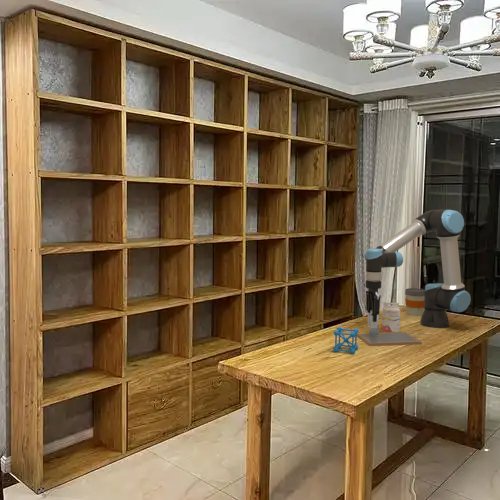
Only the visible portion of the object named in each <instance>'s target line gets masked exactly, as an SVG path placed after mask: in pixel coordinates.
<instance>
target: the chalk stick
mask: <svg viewBox="0 0 500 500" xmlns="http://www.w3.org/2000/svg"><path fill="white" fill-rule="evenodd" d="M371 314H372V310H370V326H369V333H370V334H371V335H378V333H379V315H377V328H371Z"/></svg>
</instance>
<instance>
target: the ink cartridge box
mask: <svg viewBox="0 0 500 500" xmlns="http://www.w3.org/2000/svg"><path fill="white" fill-rule="evenodd" d="M399 305H400V303H399V302H383V307H382V320H381V321H382V322H381V323H382V324H381V329H382V331H383V332H390V333H400V327H401V326H400V325H401V309H400V308H399Z"/></svg>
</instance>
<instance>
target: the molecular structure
mask: <svg viewBox="0 0 500 500" xmlns="http://www.w3.org/2000/svg"><path fill="white" fill-rule="evenodd" d="M343 331H345V332H343ZM347 332H348V333H347ZM349 332H350V333H349ZM359 332H360V331H359V328H357V327H356V328H353V329H348V328H343V327H342V326H338V327H337V330H334V331H333V335H334V339H335V340H334V347H333V349H332V351H333V352H335V353H337V352H346V353H347V352H348V353H350V354H352V355H354V354H355V353H356V350H358V349H359V345H358V342H357V341H358V340H357V339H358V338H357V334H359ZM346 336H348V337H346ZM351 338H352V339H351ZM341 339H342V340H343V341H341ZM350 339H351V341H350ZM346 344H347V345H346ZM342 347H344V348H349V349H350V350H349V349H341V348H342Z"/></svg>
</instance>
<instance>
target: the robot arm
mask: <svg viewBox="0 0 500 500" xmlns="http://www.w3.org/2000/svg"><path fill="white" fill-rule="evenodd" d="M464 227H465V219H464V217H463V215H462V213H461V212H459V211H457V210H452V209H432V210H428V211H425V212H424V213H422V214H420V215H419V216H417V217H416V218H415V219H413V220H412V222H411V223H410V224H409V225H407V226H406V227H405V228H403V229H402V230H400V231H398V232H396V233H395V234H394V235H393V236H391V237H390V238H388V239H386V241H384V242H383V243H381V244H380V245H378V246H377V247H375V248H368V249H366V251H364V255H363V256H364V257H363V258H364V261H365V274H364V275H365V288H366V289H368V290H366V291H365V311H366V312H367V326H368V327H370V310H372V314H371V328H377V315H378V316H379V315H380V311H381V308H380V307H381V305H380V304H381V298H382V296H381V294H379V290H380V289H381V288H382V281H381V280H382V278H383V277H382V274H383V273H382V270H383V268H398V267H402V265H403V263H404V256H403V254H402V253H401V252H399V251H400V249H402V248H403V247H405V246H406V245H408V244H409V243H411V242H412V241H414V240H415V239H416V238H418V237H420V236H424V235H426V234H427V233H431V232H435V235H436V238H437V239H438V240H439V245H440V254H441V256H440V257H441V264H442V277H443V283H442V282H441V283H427V284H426V285H425V286H424V290H425V297H424V311H423V314H422V316H420V317H421V318H420V325H422V326H426V327H429V328H448V327H449V326H450V319H449V317H448V314H447V311H451V312H456V313H461V312H465V311H466V310H467V309H468V308H469V306H470V304H471V301H472V298H471V294H470V293H469V292H468V291H466V286H465V284H464V283H463V282H462V276H461V265H460V254H459V252H460V251H459V244H458V243H459V242H458V238H459V237H460V236H461V232H462V231H463V229H464Z"/></svg>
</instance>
